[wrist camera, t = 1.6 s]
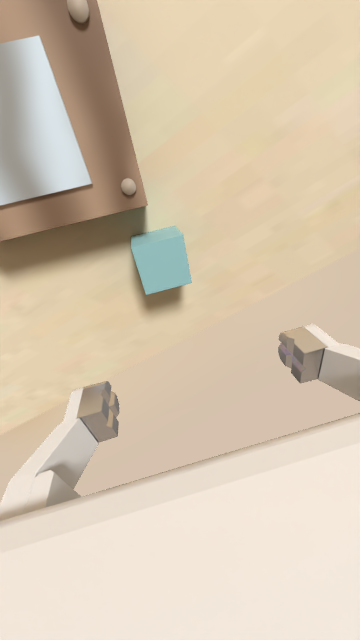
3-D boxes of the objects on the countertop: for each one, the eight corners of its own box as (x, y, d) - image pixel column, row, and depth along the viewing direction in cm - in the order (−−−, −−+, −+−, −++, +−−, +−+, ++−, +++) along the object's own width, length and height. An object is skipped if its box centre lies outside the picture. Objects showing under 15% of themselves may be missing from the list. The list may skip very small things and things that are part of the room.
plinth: (95, 3, 16) (85, -47, 13) (145, 201, 23) (148, 205, 20) (-131, 49, 16) (-209, 11, 12) (-9, 239, 23) (-35, 250, 19)
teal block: (174, 225, 25) (183, 234, 21) (183, 267, 28) (191, 282, 24) (131, 236, 25) (131, 247, 21) (143, 277, 28) (146, 294, 24)
